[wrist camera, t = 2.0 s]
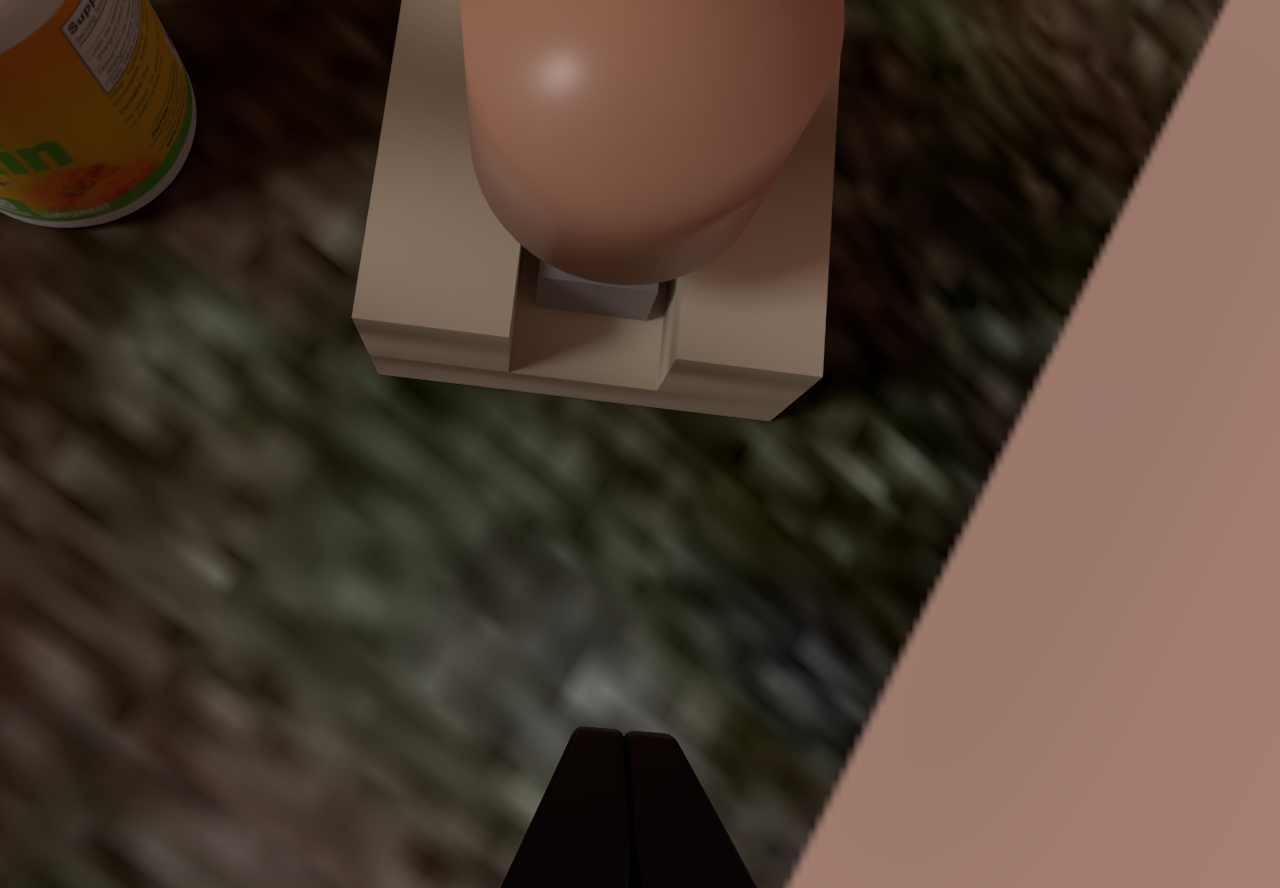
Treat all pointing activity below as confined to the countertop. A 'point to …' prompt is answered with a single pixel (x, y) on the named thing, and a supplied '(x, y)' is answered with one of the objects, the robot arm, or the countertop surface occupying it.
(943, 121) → the countertop surface
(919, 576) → the countertop surface
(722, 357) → the knob track
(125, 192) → the supplement bottle
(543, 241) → the knob
